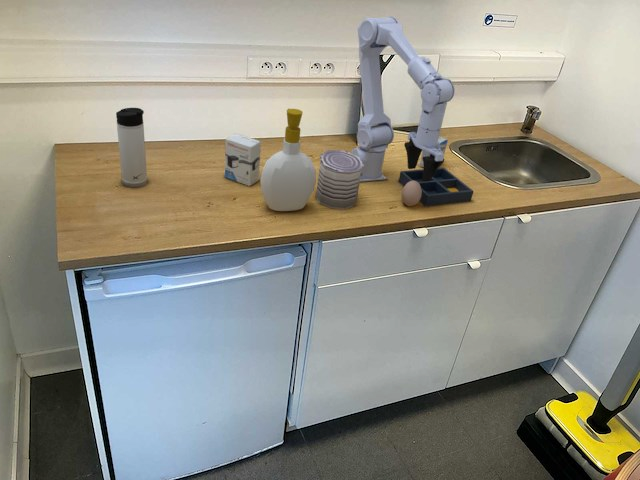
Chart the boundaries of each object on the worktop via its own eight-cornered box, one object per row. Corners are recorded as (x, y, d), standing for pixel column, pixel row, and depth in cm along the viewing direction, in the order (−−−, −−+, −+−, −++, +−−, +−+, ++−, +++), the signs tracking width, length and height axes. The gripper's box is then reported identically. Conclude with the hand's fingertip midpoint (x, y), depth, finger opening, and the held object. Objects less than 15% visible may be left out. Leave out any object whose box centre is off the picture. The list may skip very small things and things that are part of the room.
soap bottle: (307, 196, 148) (317, 103, 134) (316, 213, 141) (328, 116, 127) (254, 199, 143) (260, 103, 129) (262, 216, 136) (268, 117, 122)
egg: (418, 211, 148) (424, 187, 144) (399, 207, 148) (404, 183, 144) (418, 202, 152) (424, 178, 148) (399, 198, 153) (404, 175, 149)
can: (347, 187, 155) (353, 148, 148) (363, 207, 146) (371, 167, 140) (309, 190, 151) (314, 150, 144) (324, 211, 142) (330, 169, 135)
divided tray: (425, 206, 150) (428, 195, 149) (398, 181, 162) (400, 171, 160) (470, 201, 156) (473, 191, 155) (441, 177, 168) (443, 167, 166)
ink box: (223, 177, 152) (224, 138, 145) (234, 171, 155) (235, 132, 149) (249, 186, 149) (251, 147, 142) (259, 180, 152) (261, 141, 146)
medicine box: (431, 171, 171) (437, 145, 166) (418, 166, 173) (424, 140, 168) (442, 164, 176) (448, 139, 172) (430, 159, 178) (436, 134, 174)
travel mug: (141, 189, 141) (136, 115, 130) (117, 185, 141) (110, 110, 131) (152, 179, 146) (148, 107, 135) (129, 175, 147) (123, 103, 136)
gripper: (458, 137, 136) (446, 185, 143) (427, 115, 147) (417, 161, 154) (435, 138, 133) (423, 187, 141) (405, 117, 144) (395, 163, 152)
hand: (418, 174), depth 147 cm, fingers open, 7 cm apart
